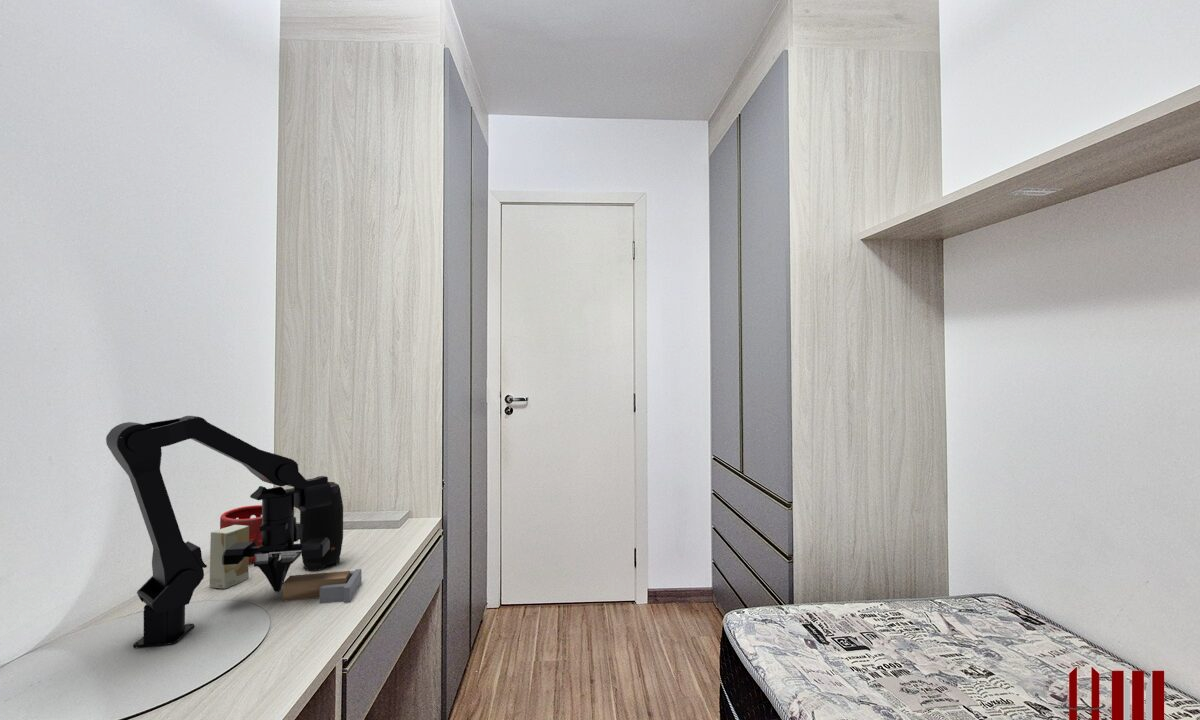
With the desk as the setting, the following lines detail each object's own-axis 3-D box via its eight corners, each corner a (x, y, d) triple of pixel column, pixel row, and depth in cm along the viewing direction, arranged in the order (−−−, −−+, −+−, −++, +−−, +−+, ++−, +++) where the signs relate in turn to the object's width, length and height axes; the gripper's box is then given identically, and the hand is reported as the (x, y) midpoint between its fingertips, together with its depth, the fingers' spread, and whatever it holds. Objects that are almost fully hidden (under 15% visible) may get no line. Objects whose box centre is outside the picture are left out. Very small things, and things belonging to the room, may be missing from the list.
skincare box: (225, 589, 114) (225, 533, 114) (208, 588, 115) (208, 532, 115) (250, 578, 120) (250, 524, 120) (234, 576, 121) (234, 523, 121)
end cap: (349, 602, 108) (349, 587, 108) (318, 604, 107) (318, 590, 107) (361, 582, 118) (361, 568, 118) (332, 584, 116) (332, 571, 116)
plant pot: (208, 570, 125) (209, 519, 125) (235, 550, 138) (235, 505, 138) (269, 565, 128) (269, 516, 128) (289, 547, 140) (290, 502, 141)
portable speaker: (346, 565, 127) (346, 485, 127) (302, 575, 122) (302, 491, 122) (338, 555, 134) (338, 479, 134) (297, 564, 128) (297, 484, 128)
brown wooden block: (345, 596, 111) (345, 577, 111) (283, 602, 108) (283, 583, 108) (350, 588, 115) (350, 570, 115) (289, 594, 112) (290, 575, 112)
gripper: (337, 504, 119) (337, 572, 119) (246, 508, 116) (245, 579, 116) (321, 518, 109) (321, 593, 108) (220, 524, 105) (220, 601, 105)
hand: (278, 591), depth 110 cm, fingers closed
